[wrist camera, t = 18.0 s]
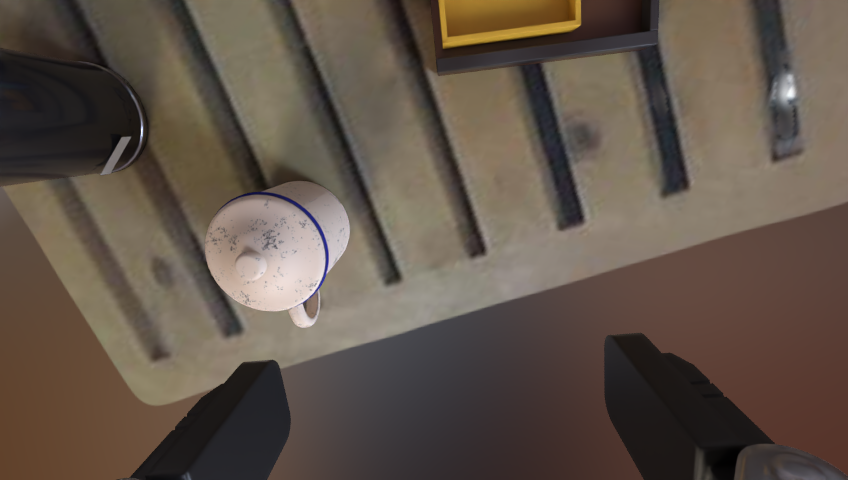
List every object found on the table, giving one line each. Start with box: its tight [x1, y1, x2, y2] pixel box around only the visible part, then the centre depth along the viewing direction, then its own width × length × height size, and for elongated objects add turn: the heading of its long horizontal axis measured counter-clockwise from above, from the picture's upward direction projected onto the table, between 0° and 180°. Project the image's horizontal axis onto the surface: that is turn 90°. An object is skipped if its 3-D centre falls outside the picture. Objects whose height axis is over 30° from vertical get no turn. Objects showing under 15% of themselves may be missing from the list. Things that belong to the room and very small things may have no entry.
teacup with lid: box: [205, 181, 350, 328], centre depth 33 cm, size 12×9×12 cm
